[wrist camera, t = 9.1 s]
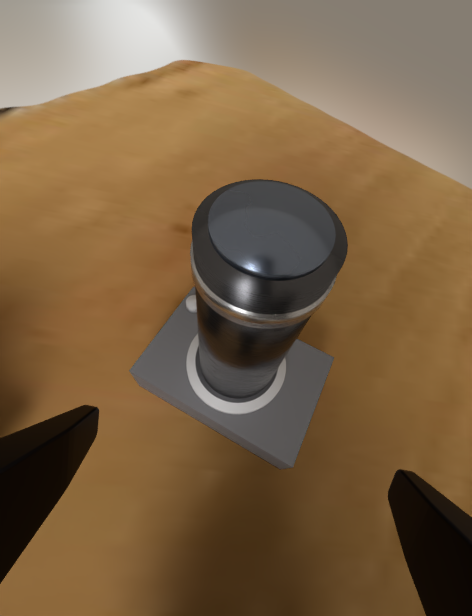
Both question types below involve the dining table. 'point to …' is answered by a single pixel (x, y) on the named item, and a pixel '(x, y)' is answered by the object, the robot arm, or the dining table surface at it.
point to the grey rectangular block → (228, 411)
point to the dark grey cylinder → (259, 277)
